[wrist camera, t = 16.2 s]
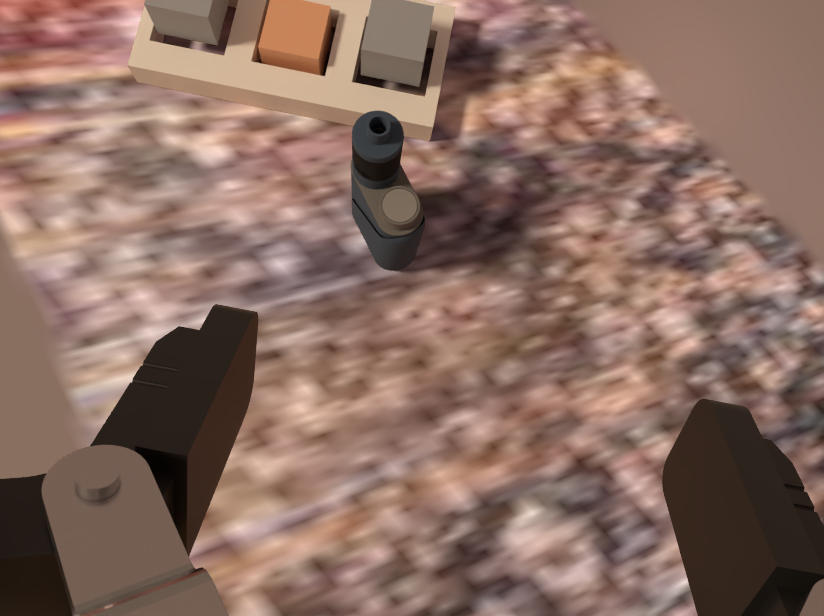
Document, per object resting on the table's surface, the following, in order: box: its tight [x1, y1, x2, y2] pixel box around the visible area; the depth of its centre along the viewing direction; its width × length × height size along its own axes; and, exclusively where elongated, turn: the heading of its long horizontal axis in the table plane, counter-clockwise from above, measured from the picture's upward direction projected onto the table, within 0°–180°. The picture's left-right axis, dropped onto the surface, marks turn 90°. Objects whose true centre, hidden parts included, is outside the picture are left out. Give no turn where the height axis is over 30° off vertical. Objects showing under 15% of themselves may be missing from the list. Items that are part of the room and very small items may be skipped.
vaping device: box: [351, 111, 425, 270], centre depth 37 cm, size 3×5×12 cm, turn 26°
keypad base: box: [128, 0, 456, 142], centre depth 44 cm, size 18×8×2 cm, turn 80°
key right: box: [361, 0, 434, 87], centre depth 42 cm, size 4×4×3 cm
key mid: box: [258, 0, 332, 76], centre depth 44 cm, size 4×4×3 cm
